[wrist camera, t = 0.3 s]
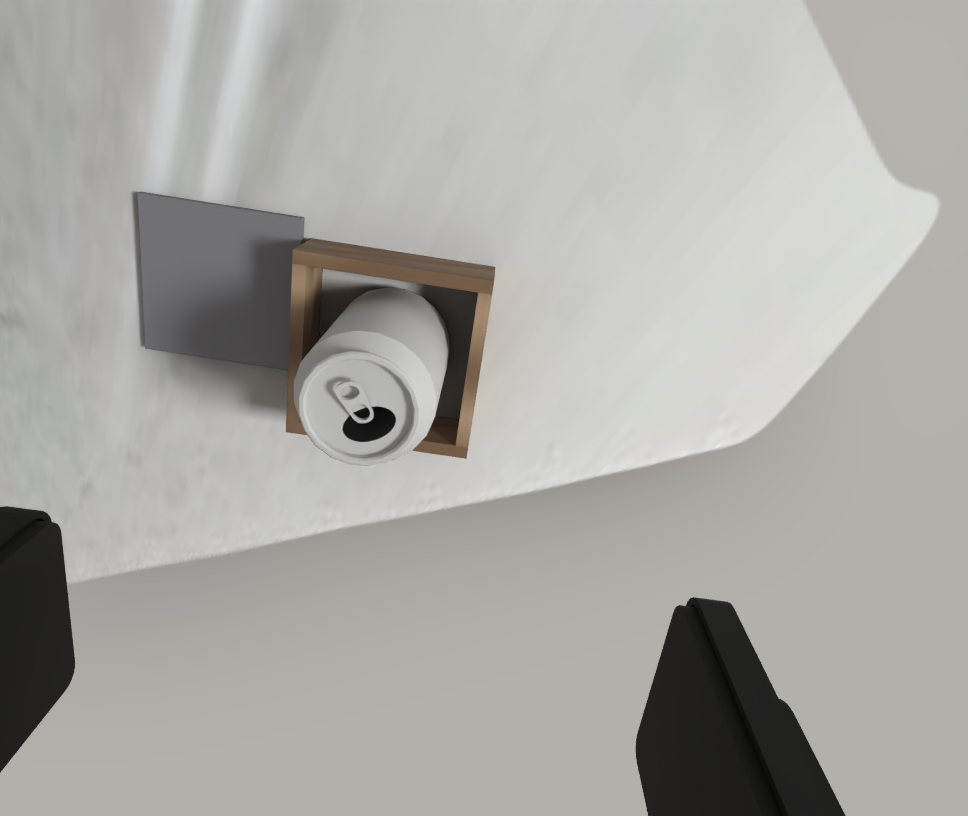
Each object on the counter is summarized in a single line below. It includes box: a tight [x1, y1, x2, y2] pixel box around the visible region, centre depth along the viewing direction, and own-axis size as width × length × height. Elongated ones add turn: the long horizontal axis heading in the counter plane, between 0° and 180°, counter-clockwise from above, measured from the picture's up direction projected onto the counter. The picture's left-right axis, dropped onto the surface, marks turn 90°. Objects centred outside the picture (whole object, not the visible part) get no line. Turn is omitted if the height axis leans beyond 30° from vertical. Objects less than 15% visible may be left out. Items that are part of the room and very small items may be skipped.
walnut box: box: [286, 238, 495, 458], centre depth 43 cm, size 12×12×4 cm
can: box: [294, 287, 450, 466], centre depth 39 cm, size 8×8×12 cm
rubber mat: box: [137, 192, 304, 370], centre depth 43 cm, size 10×10×1 cm
